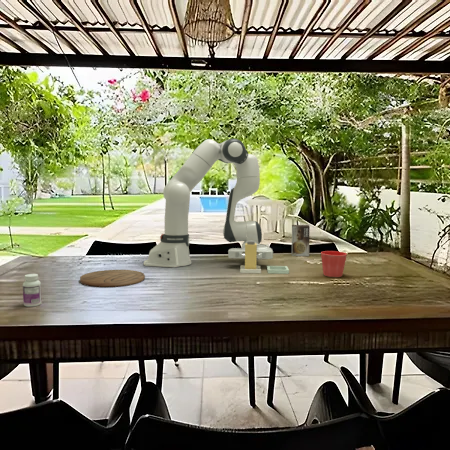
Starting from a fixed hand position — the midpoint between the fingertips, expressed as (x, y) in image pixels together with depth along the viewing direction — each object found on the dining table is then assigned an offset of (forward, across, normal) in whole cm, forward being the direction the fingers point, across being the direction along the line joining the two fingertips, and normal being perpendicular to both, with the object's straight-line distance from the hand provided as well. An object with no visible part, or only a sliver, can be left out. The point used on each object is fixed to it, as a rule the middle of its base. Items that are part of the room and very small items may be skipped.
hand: (250, 256), depth 193 cm
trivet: (+21, -55, +7) cm, 59 cm away
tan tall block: (-1, 0, +7) cm, 7 cm away
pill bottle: (+57, -70, +7) cm, 91 cm away
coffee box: (-44, +27, +7) cm, 52 cm away
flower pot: (+5, +35, +7) cm, 36 cm away
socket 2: (-1, +12, +6) cm, 14 cm away
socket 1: (-1, 0, +6) cm, 7 cm away
